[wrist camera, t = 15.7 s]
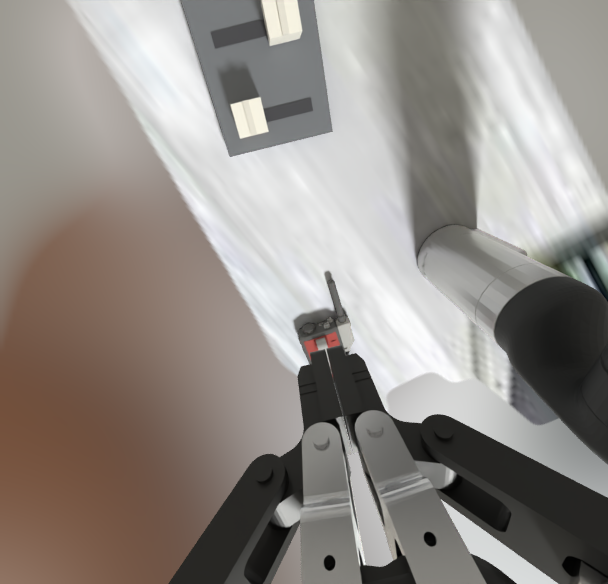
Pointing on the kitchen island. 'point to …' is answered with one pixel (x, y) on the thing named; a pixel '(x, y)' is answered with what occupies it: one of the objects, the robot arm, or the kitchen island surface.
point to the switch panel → (260, 71)
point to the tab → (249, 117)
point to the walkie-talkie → (327, 330)
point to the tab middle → (281, 20)
